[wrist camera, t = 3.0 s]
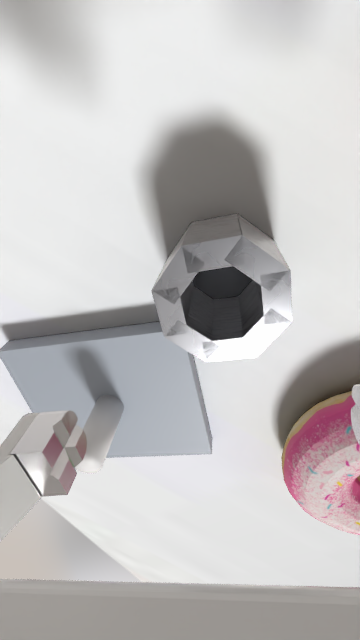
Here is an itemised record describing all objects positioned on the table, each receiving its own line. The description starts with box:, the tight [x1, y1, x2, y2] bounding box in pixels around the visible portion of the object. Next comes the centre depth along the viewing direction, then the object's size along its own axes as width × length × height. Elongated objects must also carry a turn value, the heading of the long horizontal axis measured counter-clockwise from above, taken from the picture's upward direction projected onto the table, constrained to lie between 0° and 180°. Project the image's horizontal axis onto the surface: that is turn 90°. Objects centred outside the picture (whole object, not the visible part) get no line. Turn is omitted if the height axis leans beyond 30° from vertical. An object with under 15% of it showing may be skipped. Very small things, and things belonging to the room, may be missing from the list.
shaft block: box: [0, 322, 212, 474], centre depth 22 cm, size 14×12×6 cm
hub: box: [152, 214, 293, 362], centre depth 17 cm, size 6×6×5 cm
